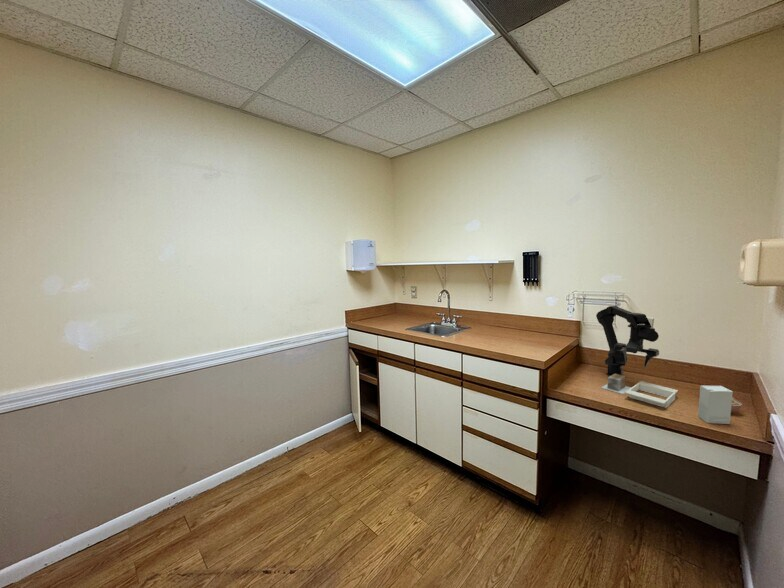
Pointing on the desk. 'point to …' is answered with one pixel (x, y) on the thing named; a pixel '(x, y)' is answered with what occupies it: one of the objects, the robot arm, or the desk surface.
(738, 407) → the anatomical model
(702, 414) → the skincare box
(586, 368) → the desk surface
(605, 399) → the desk surface
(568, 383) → the desk surface
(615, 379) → the box
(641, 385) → the white shallow rectangular tray
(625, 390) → the mat
